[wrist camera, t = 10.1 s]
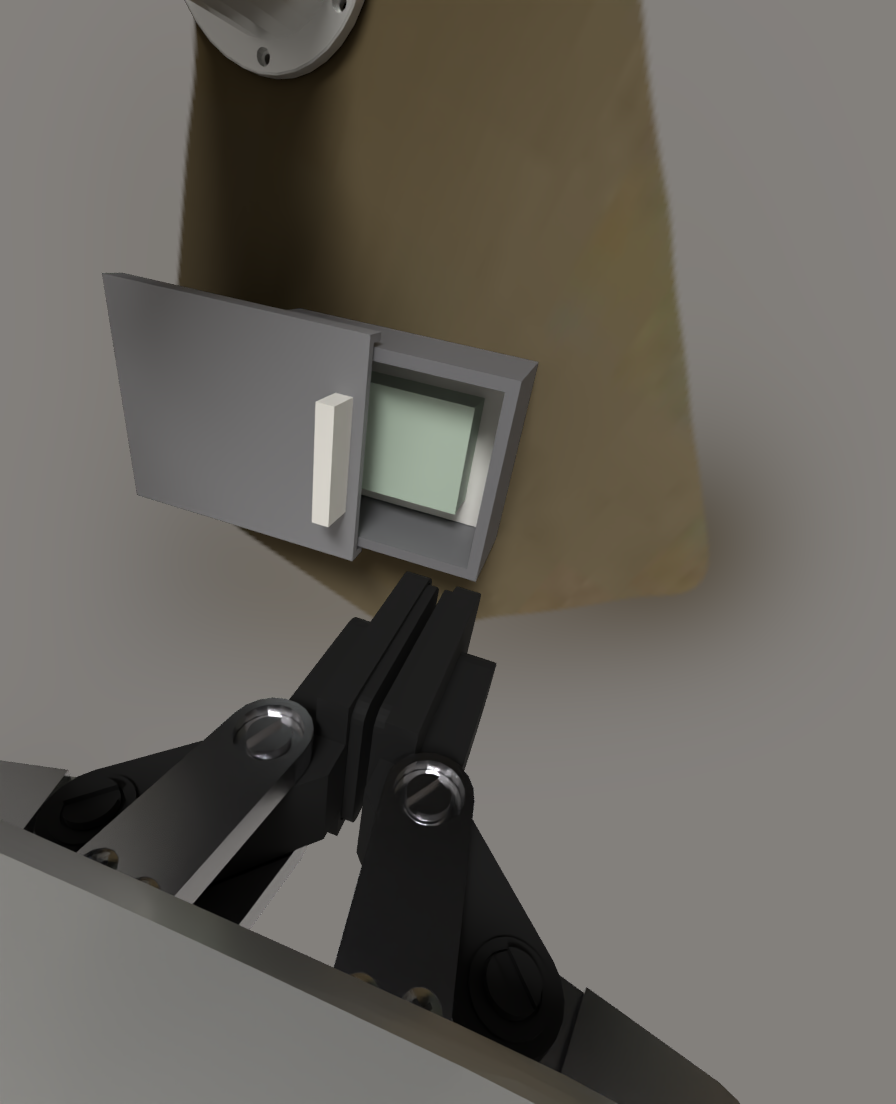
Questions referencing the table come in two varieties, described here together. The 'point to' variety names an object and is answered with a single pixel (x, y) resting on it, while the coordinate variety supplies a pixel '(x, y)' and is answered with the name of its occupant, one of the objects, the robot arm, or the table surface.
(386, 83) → the table surface
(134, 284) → the lid
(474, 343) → the table surface
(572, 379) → the table surface
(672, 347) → the table surface
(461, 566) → the base
